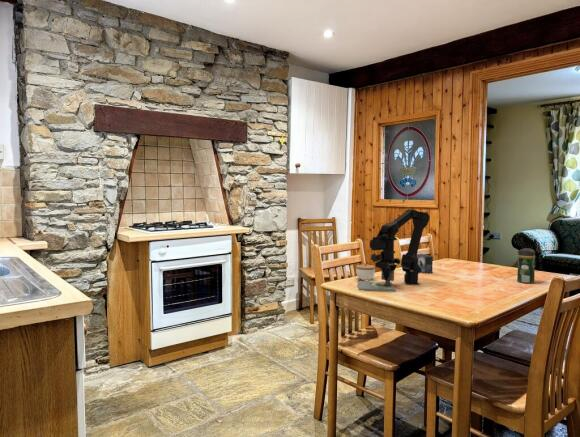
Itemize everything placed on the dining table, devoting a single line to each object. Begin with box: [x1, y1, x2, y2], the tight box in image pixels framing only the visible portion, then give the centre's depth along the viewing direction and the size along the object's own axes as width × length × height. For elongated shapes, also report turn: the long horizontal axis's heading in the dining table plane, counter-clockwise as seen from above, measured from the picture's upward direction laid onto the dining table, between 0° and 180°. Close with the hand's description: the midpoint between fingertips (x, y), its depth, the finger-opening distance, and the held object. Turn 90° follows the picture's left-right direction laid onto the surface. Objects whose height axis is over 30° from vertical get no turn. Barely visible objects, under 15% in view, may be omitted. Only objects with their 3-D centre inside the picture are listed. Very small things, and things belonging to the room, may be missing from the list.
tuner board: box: [356, 280, 397, 293], centre depth 215 cm, size 18×18×1 cm
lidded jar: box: [355, 262, 376, 281], centre depth 233 cm, size 11×11×9 cm
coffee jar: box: [516, 247, 536, 284], centre depth 227 cm, size 10×8×19 cm
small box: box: [417, 253, 434, 275], centre depth 257 cm, size 11×6×10 cm, turn 25°
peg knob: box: [369, 270, 395, 286], centre depth 216 cm, size 13×4×7 cm, turn 54°
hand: (387, 279), depth 214 cm, fingers open, 4 cm apart
